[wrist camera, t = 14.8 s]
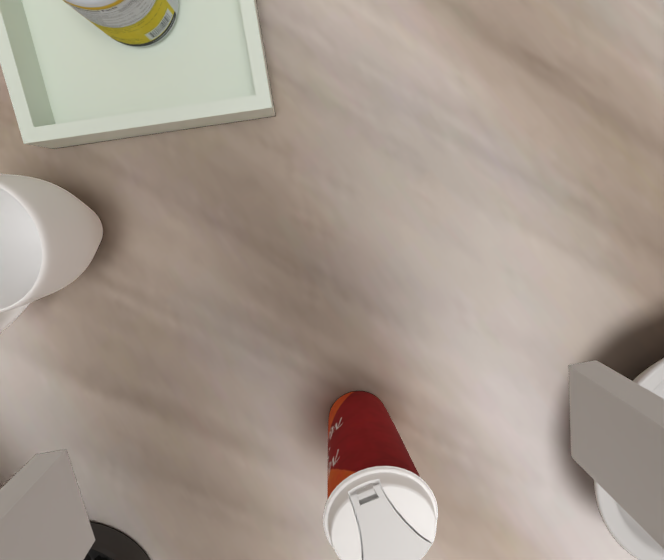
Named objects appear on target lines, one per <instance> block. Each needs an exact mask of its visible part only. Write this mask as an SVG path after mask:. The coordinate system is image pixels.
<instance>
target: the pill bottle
mask: <svg viewBox="0 0 664 560" xmlns="http://www.w3.org/2000/svg"><path fill="white" fill-rule="evenodd" d="M63 1H64V2H65V3H67V4H68V5H69V6H71V7H72V8H73V9H74V10H76V11H77V12H78V13H80V14H81V15H82V16H83V17H85V18H86V19H87V20H89V21H90V22H91V23H93V24H94V25H95V26H96V27H98V28H99V29H100V30H102V31H103V32H104V33H106V34H107V35H108V36H110V37H111V38H112V39H114V40H116V41H118V42H120V43H122V44H125V45H128V46H133V47H145V46H150V45H153V44H155V43H157V42H159V41H160V40H162V39H163V38H164V37H165V36H166V35H167V34H168V33H169V32H170V30H171V29H172V27H173V26H174V23H175V21H176V17H177V13H178V0H63Z"/></svg>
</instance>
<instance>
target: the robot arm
mask: <svg viewBox="0 0 664 560" xmlns="http://www.w3.org/2000/svg"><path fill="white" fill-rule="evenodd" d="M568 369H569V402H570V434H571V457H572V458H573V459H574V460H575V461H576V462H577V463H578V464H579V465H580V466H581V467H582V468H583V469H584V470H585V471H586V472H587V473H588V474H589V475H590V476H591V477H592V478H593V479H594V480H595V481H596V482H597V483H598V484H599V485H600V486H601V487H602V488H603V489H604V490H605V491H606V492H607V493H608V494H609V495H610V496H611V497H612V498H613V499H614V500H615V501H616V502H617V503H618V504H619V505H620V506H621V507H622V508H623V509H624V510H625V511H626V512H627V513H628V514H629V515H630V516H631V517H632V518H633V519H634V520H635V521H636V522H637V523H638V524H639V525H640V526H641V527H642V528H643V529H644V530H645V531H646V532H647V533H648V534H649V535H650V536H651V537H652V538H653V539H654V540H655V541H656V542H657V543H658V544H659V545H660V546H661V547H662V548H663V549H664V399H663V398H661V397H659V396H658V395H656V394H654V393H652V392H651V391H649V390H647V389H645V388H644V387H642V386H640V385H639V384H637V383H635V382H633V381H632V380H630V379H628V378H626V377H625V376H623V375H621V374H619V373H618V372H616V371H614V370H613V369H611V368H609V367H607V366H606V365H604V364H602V363H600V362H599V361H597V360H595V361H589V362H583V363H577V364H571V365H568ZM0 560H149V558H148V557H147V555H146V554H145V553H144V551H143V550H142V549H141V548H140V547H139V546H138V545H137V544H136V543H135V542H134V541H132V540H131V539H130V538H128V537H127V536H125V535H124V534H122V533H120V532H118V531H117V530H114V529H112V528H110V527H107V526H104V525H101V524H97V523H92V522H90V521H89V518H88V515H87V512H86V509H85V506H84V503H83V499H82V496H81V493H80V490H79V487H78V484H77V481H76V477H75V474H74V471H73V468H72V465H71V462H70V459H69V455H68V452H67V449H65V450H59V451H53V452H47V453H41V454H36V455H35V456H34V457H33V458H32V459H31V460H30V461H29V462H28V463H27V464H26V465H25V466H24V467H23V468H22V469H21V470H20V471H18V472H17V473H16V474H15V475H14V476H13V477H12V478H11V479H10V480H9V481H8V482H7V483H6V484H5V485H4V486H3V487H2V488H1V489H0Z"/></svg>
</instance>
